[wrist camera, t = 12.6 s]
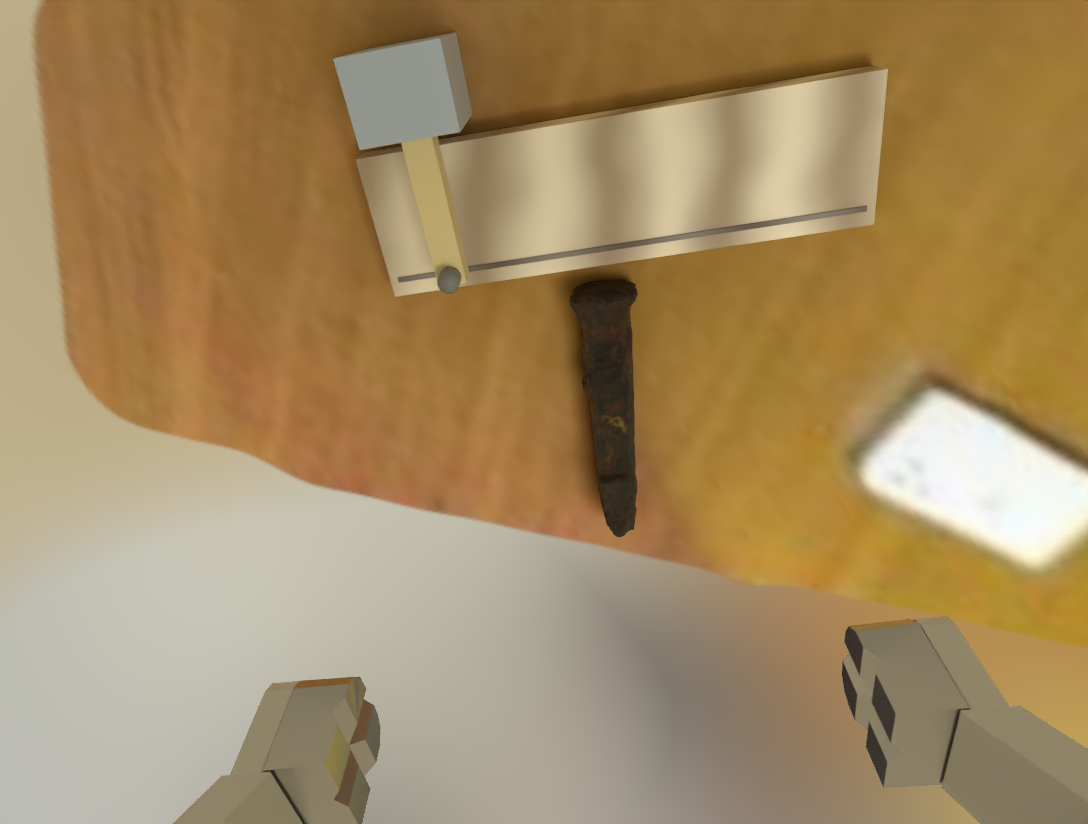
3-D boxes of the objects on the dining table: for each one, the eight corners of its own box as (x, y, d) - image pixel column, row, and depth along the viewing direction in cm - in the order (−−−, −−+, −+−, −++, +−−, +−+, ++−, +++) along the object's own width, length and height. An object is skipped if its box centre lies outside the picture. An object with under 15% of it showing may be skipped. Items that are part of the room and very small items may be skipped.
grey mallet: (455, 31, 36) (440, 37, 30) (501, 254, 42) (494, 290, 37) (364, 49, 36) (332, 58, 31) (422, 267, 42) (404, 304, 37)
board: (872, 65, 36) (888, 68, 34) (860, 215, 40) (874, 225, 38) (363, 152, 39) (354, 159, 37) (401, 284, 43) (394, 297, 41)
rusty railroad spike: (569, 276, 43) (570, 305, 39) (633, 272, 43) (641, 301, 39) (581, 511, 53) (583, 553, 49) (633, 508, 52) (639, 550, 48)
